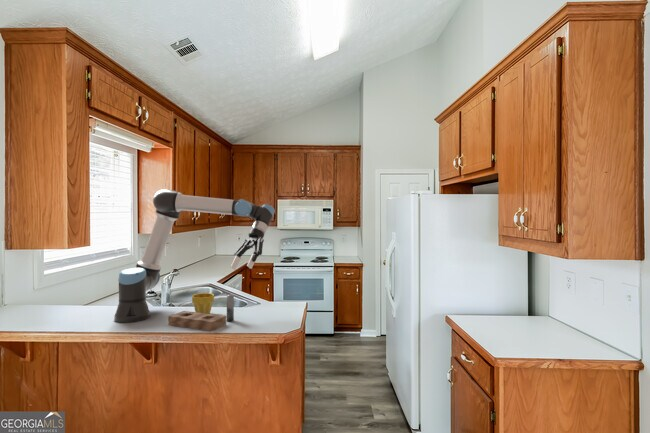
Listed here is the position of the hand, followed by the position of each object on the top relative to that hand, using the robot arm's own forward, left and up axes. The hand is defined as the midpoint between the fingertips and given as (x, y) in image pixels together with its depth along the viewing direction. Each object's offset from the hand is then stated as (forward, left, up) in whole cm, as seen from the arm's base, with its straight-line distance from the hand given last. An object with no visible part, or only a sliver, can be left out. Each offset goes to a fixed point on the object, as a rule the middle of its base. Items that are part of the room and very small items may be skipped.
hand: (240, 267), depth 180 cm
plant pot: (-20, -3, -24) cm, 32 cm away
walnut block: (-11, -18, -24) cm, 32 cm away
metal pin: (-1, -7, -24) cm, 25 cm away
